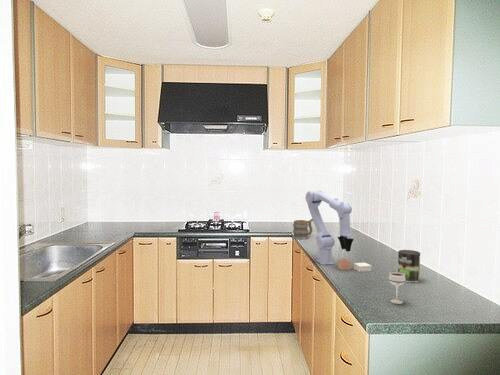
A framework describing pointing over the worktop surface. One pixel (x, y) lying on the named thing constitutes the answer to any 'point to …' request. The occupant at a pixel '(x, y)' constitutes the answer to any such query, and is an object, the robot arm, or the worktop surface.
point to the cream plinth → (362, 267)
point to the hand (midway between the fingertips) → (345, 250)
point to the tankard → (301, 229)
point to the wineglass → (397, 282)
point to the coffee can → (409, 265)
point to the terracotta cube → (344, 264)
